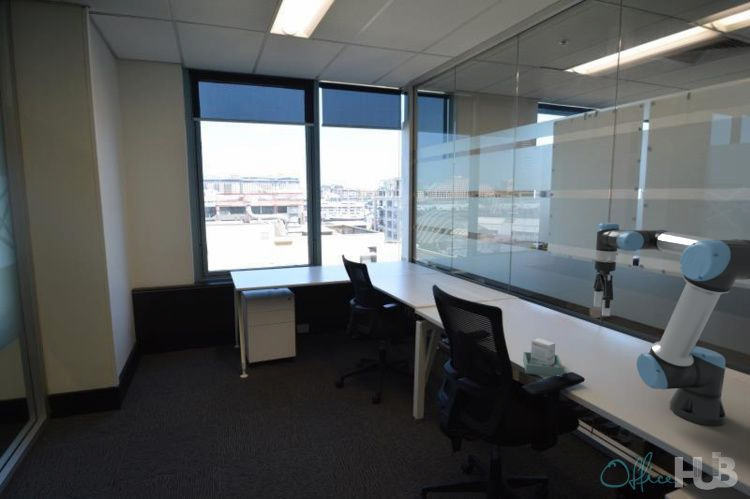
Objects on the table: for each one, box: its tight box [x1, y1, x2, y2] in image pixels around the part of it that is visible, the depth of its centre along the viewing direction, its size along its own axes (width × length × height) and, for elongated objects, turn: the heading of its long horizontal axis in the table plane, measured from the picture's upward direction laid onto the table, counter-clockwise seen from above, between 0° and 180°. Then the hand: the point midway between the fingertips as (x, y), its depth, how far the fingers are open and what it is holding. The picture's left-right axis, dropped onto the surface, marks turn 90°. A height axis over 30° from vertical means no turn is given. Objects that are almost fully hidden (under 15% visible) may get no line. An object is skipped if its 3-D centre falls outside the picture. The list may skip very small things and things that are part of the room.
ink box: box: [530, 337, 556, 367], centre depth 177 cm, size 9×5×12 cm, turn 38°
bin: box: [522, 351, 564, 377], centre depth 178 cm, size 14×14×4 cm
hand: (601, 310), depth 172 cm, fingers open, 13 cm apart
